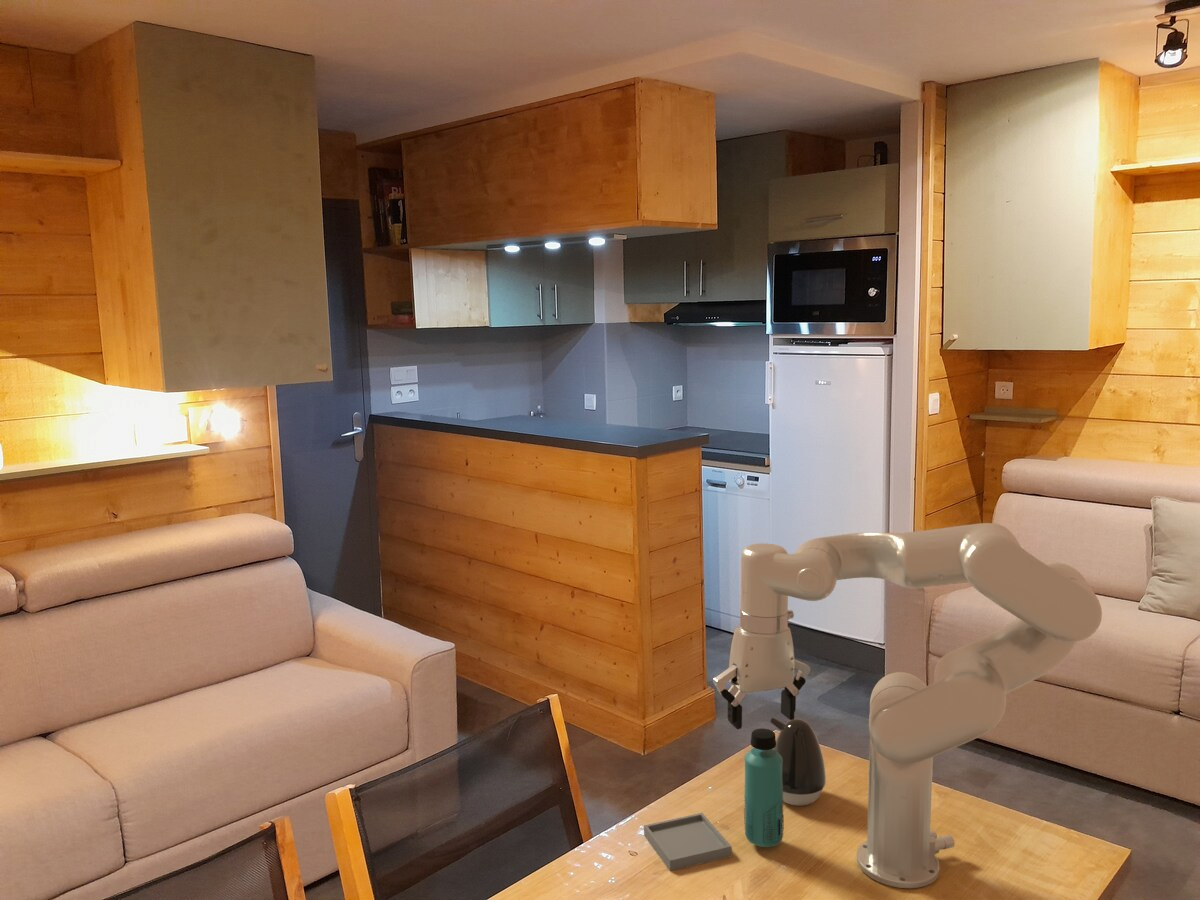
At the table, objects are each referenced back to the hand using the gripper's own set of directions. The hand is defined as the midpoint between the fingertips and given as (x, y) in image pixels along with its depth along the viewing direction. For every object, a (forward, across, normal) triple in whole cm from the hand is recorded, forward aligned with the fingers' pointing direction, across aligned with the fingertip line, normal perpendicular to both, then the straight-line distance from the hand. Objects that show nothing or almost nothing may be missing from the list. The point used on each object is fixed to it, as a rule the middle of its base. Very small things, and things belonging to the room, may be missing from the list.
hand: (761, 721), depth 152 cm
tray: (+22, +11, -4) cm, 25 cm away
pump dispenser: (+22, -14, -11) cm, 28 cm away
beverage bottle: (+22, -1, 0) cm, 22 cm away
